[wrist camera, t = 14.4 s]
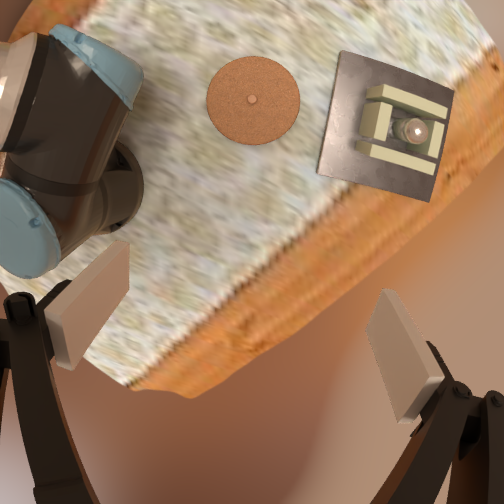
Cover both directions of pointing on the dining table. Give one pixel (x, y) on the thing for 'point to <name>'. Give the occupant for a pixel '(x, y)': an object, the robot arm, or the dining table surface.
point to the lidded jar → (253, 100)
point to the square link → (378, 122)
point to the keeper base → (351, 120)
